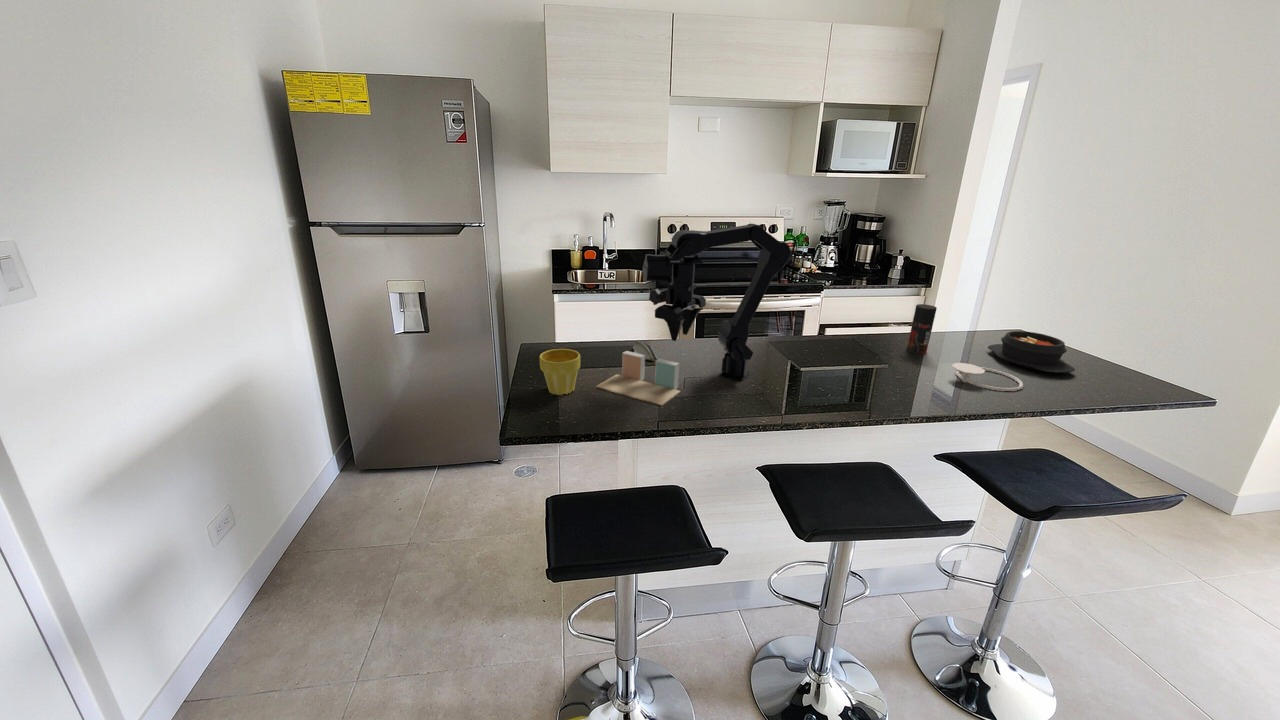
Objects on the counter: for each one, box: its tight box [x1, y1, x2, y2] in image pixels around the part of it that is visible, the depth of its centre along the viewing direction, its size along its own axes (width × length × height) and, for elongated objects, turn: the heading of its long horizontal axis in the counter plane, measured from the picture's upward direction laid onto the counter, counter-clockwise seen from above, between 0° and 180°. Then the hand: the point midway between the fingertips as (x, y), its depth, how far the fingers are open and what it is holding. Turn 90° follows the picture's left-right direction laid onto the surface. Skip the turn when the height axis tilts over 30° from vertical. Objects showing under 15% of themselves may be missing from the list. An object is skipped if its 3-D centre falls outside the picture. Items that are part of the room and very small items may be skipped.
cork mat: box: [595, 373, 681, 407], centre depth 141 cm, size 20×10×1 cm, turn 59°
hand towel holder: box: [952, 362, 1024, 392], centre depth 153 cm, size 17×4×21 cm
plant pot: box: [538, 348, 581, 396], centre depth 138 cm, size 10×10×10 cm
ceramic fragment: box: [632, 340, 656, 363], centre depth 165 cm, size 14×5×4 cm, turn 23°
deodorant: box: [906, 303, 938, 355], centre depth 174 cm, size 6×6×15 cm
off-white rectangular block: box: [621, 350, 646, 381], centre depth 147 cm, size 6×2×7 cm, turn 59°
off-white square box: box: [654, 358, 680, 390], centre depth 143 cm, size 6×2×7 cm, turn 59°
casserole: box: [987, 330, 1076, 374], centre depth 167 cm, size 25×19×8 cm
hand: (679, 337), depth 145 cm, fingers open, 6 cm apart
